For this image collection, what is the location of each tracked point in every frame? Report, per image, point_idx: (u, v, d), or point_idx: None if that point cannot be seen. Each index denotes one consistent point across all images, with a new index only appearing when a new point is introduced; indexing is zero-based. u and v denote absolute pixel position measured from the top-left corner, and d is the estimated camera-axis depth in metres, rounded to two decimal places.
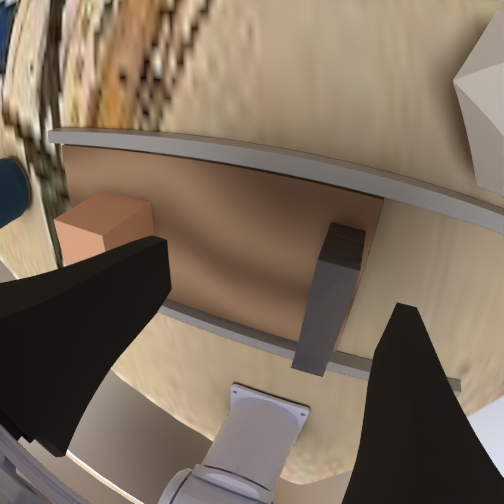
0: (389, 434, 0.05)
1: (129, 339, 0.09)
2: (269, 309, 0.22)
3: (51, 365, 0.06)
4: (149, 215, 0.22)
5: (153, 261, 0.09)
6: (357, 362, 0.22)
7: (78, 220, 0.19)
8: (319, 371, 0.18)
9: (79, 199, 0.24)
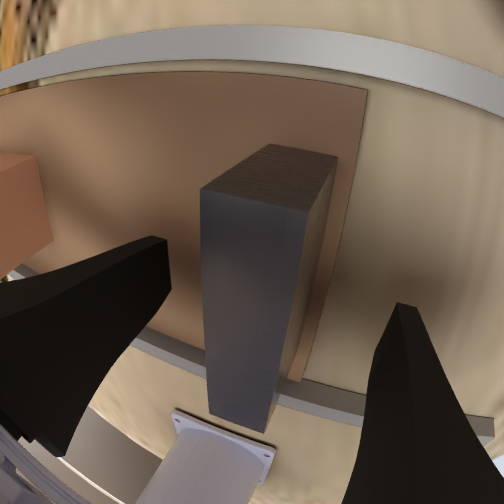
0: (389, 434, 0.05)
1: (129, 339, 0.09)
2: (191, 311, 0.14)
3: (51, 365, 0.06)
4: (34, 174, 0.13)
5: (153, 261, 0.09)
6: (337, 398, 0.13)
7: None
8: (256, 425, 0.09)
9: None
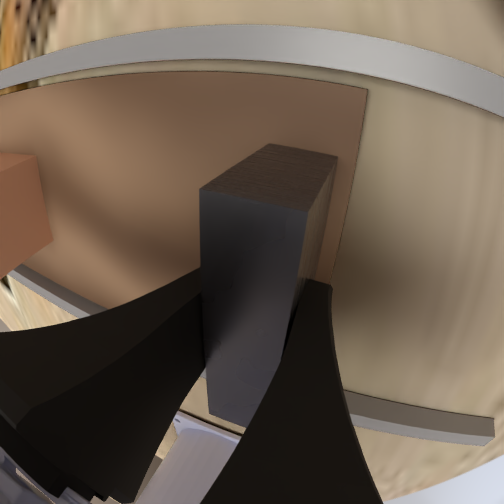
0: None
1: (200, 370, 0.09)
2: None
3: (132, 417, 0.06)
4: (34, 173, 0.13)
5: None
6: None
7: None
8: None
9: None
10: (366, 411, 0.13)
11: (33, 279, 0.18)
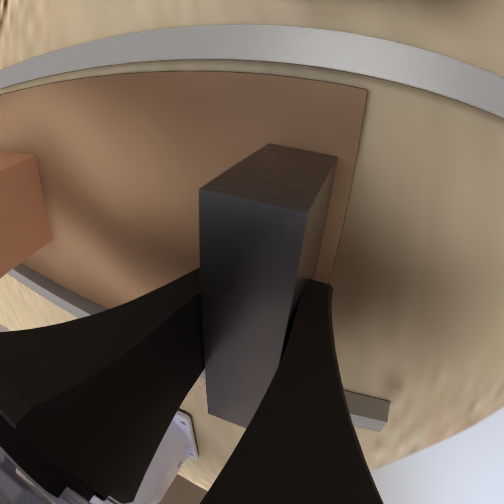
0: None
1: (200, 370, 0.09)
2: None
3: (131, 417, 0.06)
4: (33, 173, 0.13)
5: None
6: None
7: None
8: None
9: None
10: None
11: None
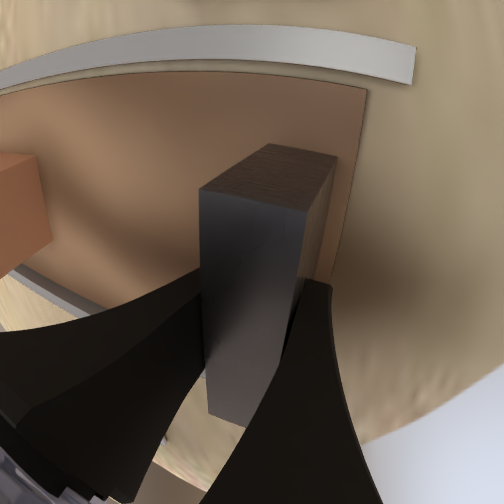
0: None
1: (200, 370, 0.09)
2: None
3: (131, 417, 0.06)
4: (34, 173, 0.13)
5: None
6: None
7: None
8: None
9: None
10: None
11: None
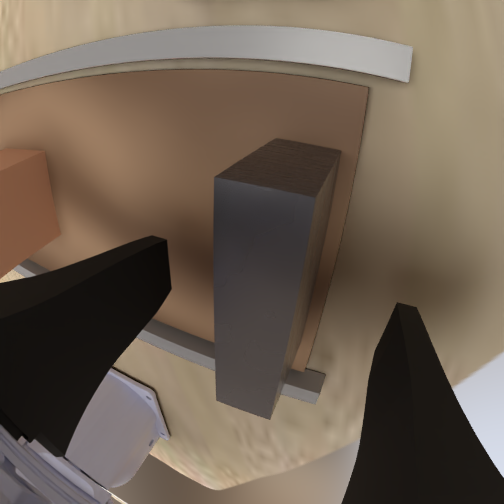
0: (389, 434, 0.05)
1: (129, 339, 0.09)
2: (198, 302, 0.14)
3: (51, 365, 0.06)
4: (42, 168, 0.14)
5: (153, 261, 0.09)
6: (155, 324, 0.17)
7: None
8: (263, 411, 0.10)
9: None
10: (176, 338, 0.16)
11: None
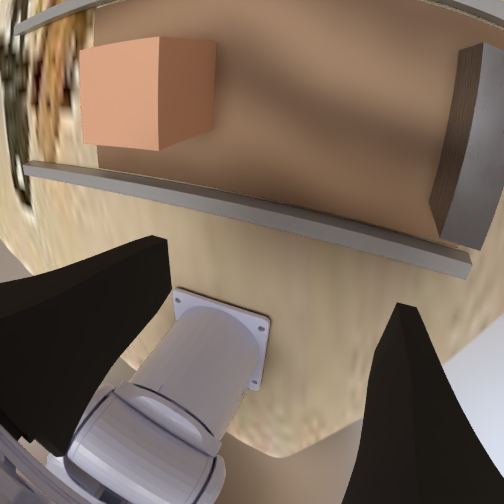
0: (389, 434, 0.05)
1: (129, 339, 0.09)
2: (378, 181, 0.15)
3: (51, 365, 0.06)
4: (212, 57, 0.14)
5: (153, 261, 0.09)
6: (318, 217, 0.17)
7: None
8: (478, 239, 0.11)
9: None
10: (343, 226, 0.17)
11: (62, 169, 0.22)
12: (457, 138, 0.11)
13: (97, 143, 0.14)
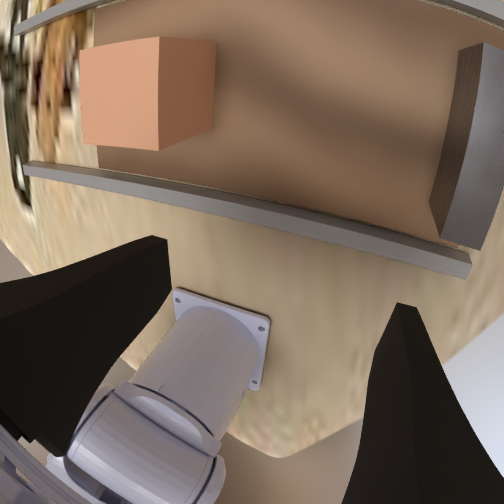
0: (389, 434, 0.05)
1: (129, 339, 0.09)
2: (378, 181, 0.15)
3: (51, 365, 0.06)
4: (212, 57, 0.14)
5: (153, 261, 0.09)
6: (318, 217, 0.17)
7: None
8: (478, 239, 0.11)
9: None
10: (343, 226, 0.17)
11: (62, 169, 0.22)
12: (457, 138, 0.11)
13: (97, 143, 0.14)
